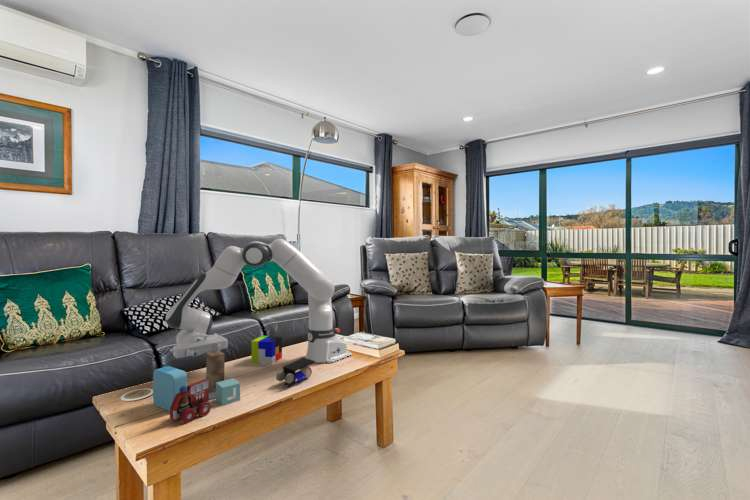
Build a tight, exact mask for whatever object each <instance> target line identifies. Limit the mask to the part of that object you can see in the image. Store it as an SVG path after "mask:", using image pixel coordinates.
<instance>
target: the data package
mask: <svg viewBox="0 0 750 500" xmlns="http://www.w3.org/2000/svg"><path fill="white" fill-rule="evenodd" d="M152 374H153V376H152V378H153V379H152V383H153V385H152V390H153V391H152V392H153V393H152V394H153V396H152V397H153V404H154V406H157V407H159V408H161V409H164V410H166V411H168V412H170V407H171V405H172V402H173V400H174V398H175V396H176V394H178V393H180V388H181V387H182V386H186V387H187V386H188V374H187V372H186V371H185V370H182V369H179V368H176V367H174V366H171V365H167V366H163V367H160V368H156V369H154V370H153V372H152ZM186 397H187V396H186Z"/></svg>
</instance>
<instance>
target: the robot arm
mask: <svg viewBox="0 0 750 500" xmlns="http://www.w3.org/2000/svg"><path fill="white" fill-rule="evenodd" d="M271 261H272V262H274V263H276V265H278V266H279V267H280V268H281V269H282V270H284V272H286V274H288V275H289V276H290V277H291V278H292V279H293V280H294V281H295V282H297V283H298V285H300V286H301V287H302V288H303V289H304V290H305V292H307V300H308V301H307V303H308V328H307V349H306V354H305V357H304V358H306V359H310V360H313V361H315V362H314V363H321V364H322V363H326V362H327V363H328V364H331V363H332V362H333V363H336V362H338V361H340V359H341V360H343V359H342V358H344V359H346V358H348V357H347V356H349V355H351V356H352V355H353V354H352V352H351V351H350V350H348V349H347V344H346V342H345V340H343V339H342V338H340V337H339V336H338V335H337V334H336V333H338V334H339V333H340V332H341V331H340V328H338V327H336V328H335V327H333V305H332V304H333V303H332V297H333V295H334V293H335V284H334V282H333V281H332V279H330V277H328V276H327V275H326V274H325V273H324V271H322V270H321V269H320V268H318V267H317V265H315V264H314V263H313V262H312V261H310V260H309V259H308V257H306V256H305V255H304V254H303V253H302V252H301V251H300V250H299V249H298V248H297V247H296V246H294V245H293V244H292V243H290V242H288V241H287V240H286V239H284V238H276V239H274V240H273V241H272V242H271V243H268V244H267V243H266V242H264V241H262V240H257V241H256V240H255V241H251V242H249V243H247V245H246V246H244V247H243V248H241V247H238V246H235V245H228V246H227V247H226V248H225V249H224V250H223V251H222V252H221V254H219V256H218V258H217V260H215V262H214V264H213V265H212V267H211V268H210V269H209V270H208V271H206V272H204V273H200V274H199V275H197V277H196V278H194V280H193V281H192V282H191V283H190V285H189V286H188V287H187V288H186V290H185V291H184V292H183V294H182V295H181V296H180V297H179V298H178V300H177V301H176V302H175V303H173V305H172V306H171V307H170V308H169V309H168V310H167V312H166V315H165V317H164V320H165V323H166V324H167V326H168V327H169V328H171V329H176V330H177V329H178V330H179V329H180V331H179V332H178V333H177V334H176V339H175V341H176V344H177V345H174V346H173V347H172V348H170V349H169V352H170V353H172V354H173V357H174V358H175V359H181V358H182V359H183V358H185V357H189V356H190V357H197V356H201V355H202V354H205V353H208V352H214V351H221V352H222V350H223V349H227V348H228V347H229V346H228V344H229V342H228V338H226V337H224V336H221V335H218V333H210V332H211V330H212V327H213V317H212V315H211V313H210V312H207V311H205V310H201V309H196V308H193V307H189V306H190V304H191V303H192V302H193V301H194V300H195V298H196V297H197V295H198V294H200V293H201V292H203V291H207V290H224V289H226V288H229V287H231V286H232V285H233V284H234V283H235V281H236V280H237V278H238V276H239V274H240V272H241V270H242V269H243V268H244V266H246V265H247V266H250V267H251V268H258V267H261V266H263V265H265V264H267V263H269V262H271ZM345 357H346V358H345ZM349 357H350V356H349ZM337 360H338V361H337ZM335 361H336V362H335ZM333 363H332V364H333Z"/></svg>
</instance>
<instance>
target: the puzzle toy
mask: <svg viewBox="0 0 750 500" xmlns="http://www.w3.org/2000/svg"><path fill="white" fill-rule="evenodd" d="M250 349H251V352H250V353H251V355H250V356H251V358H250V359H251V362H250V363H251V364H259V363H261V365H273V364H275V363H277V362H278V361H279V360H281V359H282V358H283V337H282V336H274V335H261V336H259V337H257V338H255V339H253V340H251V348H250Z"/></svg>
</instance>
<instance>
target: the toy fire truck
mask: <svg viewBox="0 0 750 500" xmlns="http://www.w3.org/2000/svg"><path fill="white" fill-rule="evenodd" d="M209 387H210V380H209V379H206V378H204V379H201V380H197V381H195V382H193V383H189V384H187V387H186V386H182V387H181V388H180V393H178V394H176V396H175V398H174V400H173V402H172V405H171V407H170V411H169V418H170V419H171V420H172V421H177V420H179V419H180V420H181V422H183V423H185V424H189V423H191V422H192V421H193V420H194V419H195V417H196V414H197V415H198V416H200V417H205V416H207V415H208V414H209V413H210V412H211V408H212V406H211V404H210V403H209V401H210V400H209ZM186 396H187V397H186Z"/></svg>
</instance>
